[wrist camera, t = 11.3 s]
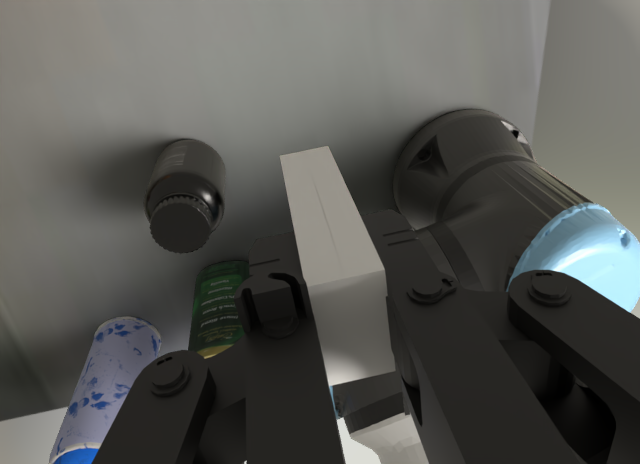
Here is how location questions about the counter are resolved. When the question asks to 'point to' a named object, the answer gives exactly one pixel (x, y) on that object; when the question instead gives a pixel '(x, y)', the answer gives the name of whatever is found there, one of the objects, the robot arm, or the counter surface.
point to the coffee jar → (217, 308)
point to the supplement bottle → (185, 196)
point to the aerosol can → (104, 386)
